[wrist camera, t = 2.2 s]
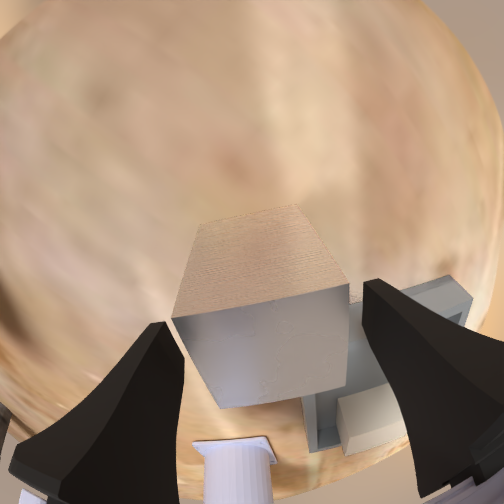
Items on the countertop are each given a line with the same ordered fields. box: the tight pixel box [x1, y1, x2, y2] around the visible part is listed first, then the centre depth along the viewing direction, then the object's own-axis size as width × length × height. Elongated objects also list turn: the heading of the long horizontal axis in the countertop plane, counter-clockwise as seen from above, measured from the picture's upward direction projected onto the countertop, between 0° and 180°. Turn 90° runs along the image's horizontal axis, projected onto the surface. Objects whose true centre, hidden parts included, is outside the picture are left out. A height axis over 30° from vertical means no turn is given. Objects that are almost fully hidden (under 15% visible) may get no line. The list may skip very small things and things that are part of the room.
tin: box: [171, 204, 349, 409], centre depth 11 cm, size 5×5×7 cm
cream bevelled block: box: [336, 383, 407, 456], centre depth 19 cm, size 5×6×4 cm
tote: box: [301, 275, 473, 453], centre depth 18 cm, size 16×12×3 cm
